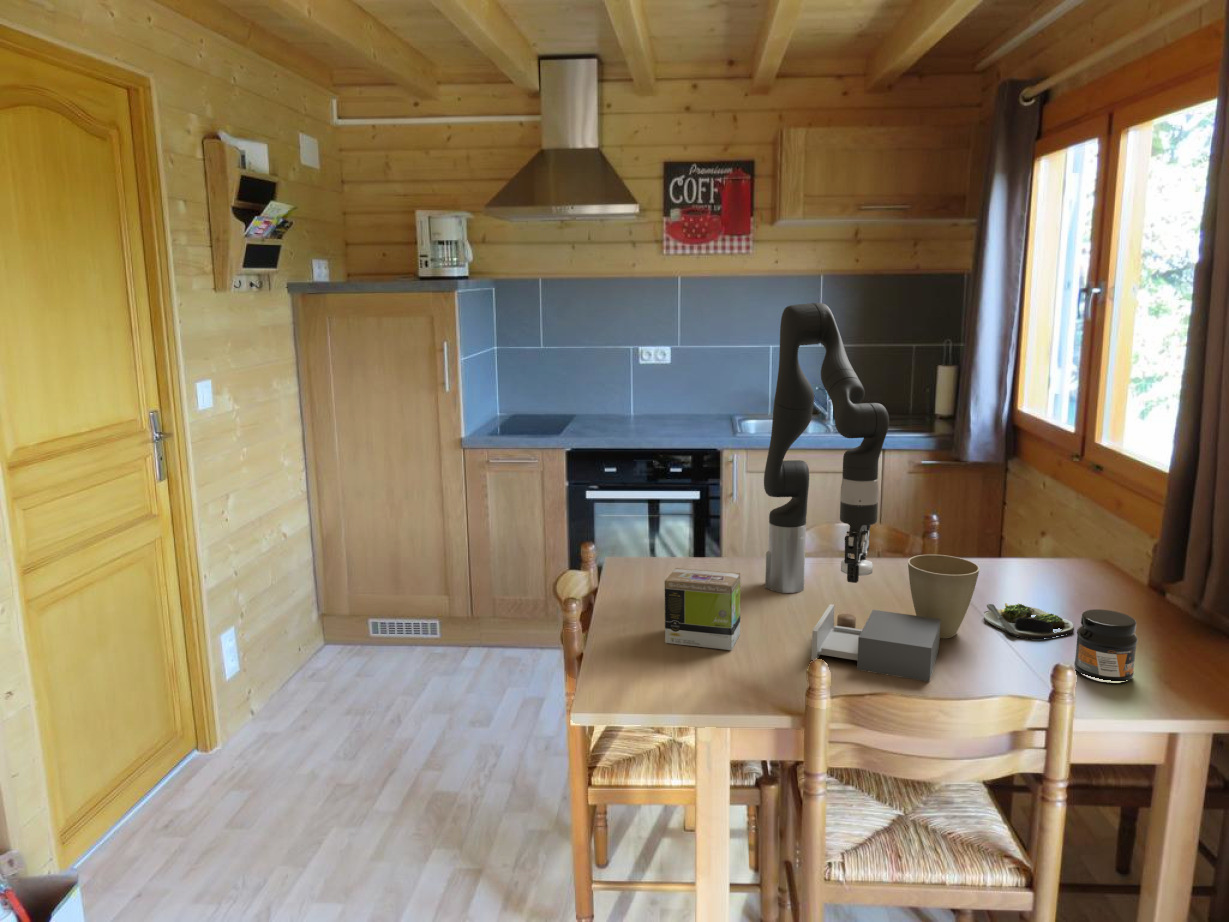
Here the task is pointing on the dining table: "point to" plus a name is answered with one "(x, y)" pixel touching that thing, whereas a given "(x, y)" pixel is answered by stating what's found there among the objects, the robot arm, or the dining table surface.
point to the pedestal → (846, 620)
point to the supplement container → (1106, 645)
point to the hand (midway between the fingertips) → (856, 577)
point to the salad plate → (1027, 621)
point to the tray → (834, 638)
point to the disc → (864, 567)
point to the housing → (899, 645)
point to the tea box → (702, 608)
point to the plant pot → (942, 589)
